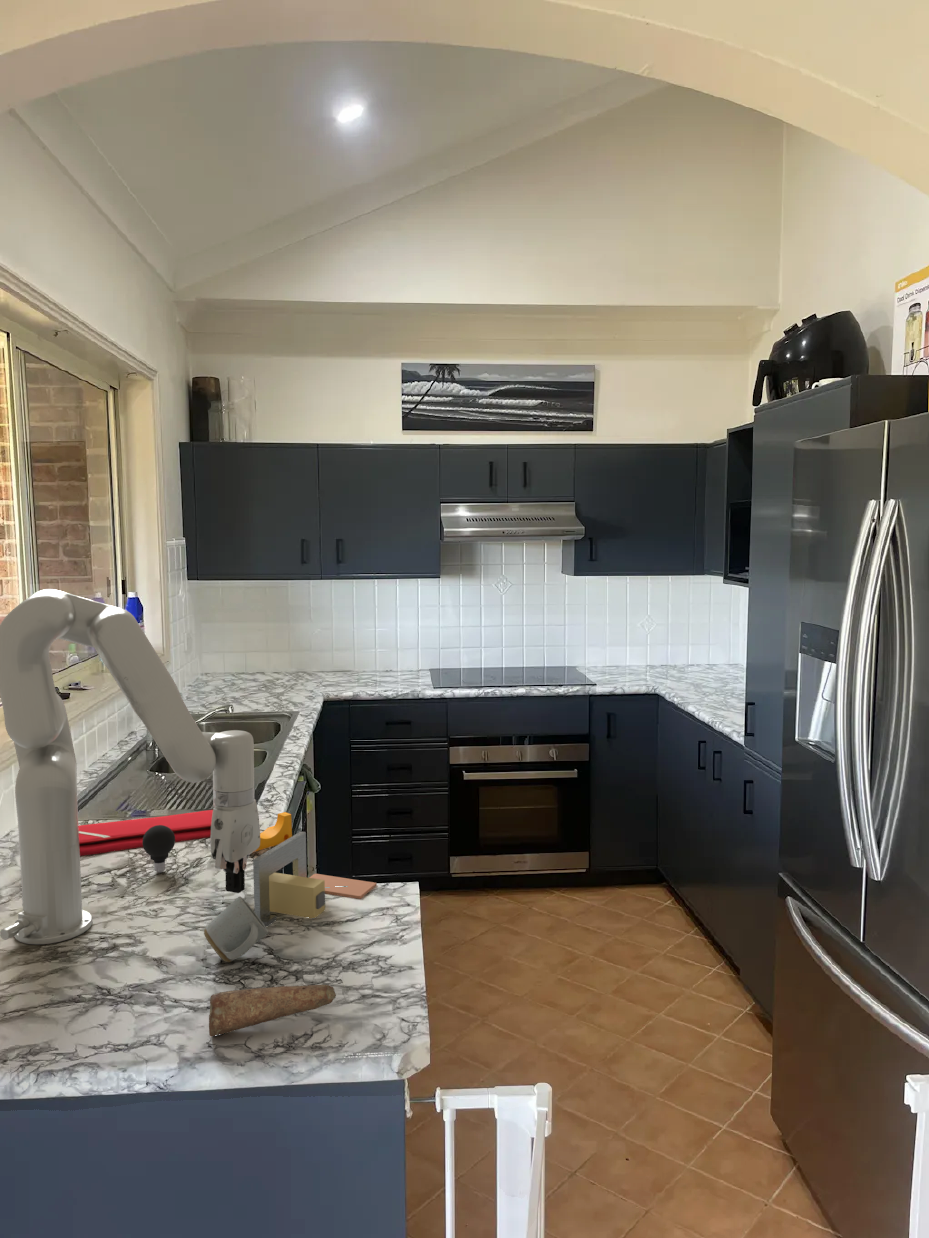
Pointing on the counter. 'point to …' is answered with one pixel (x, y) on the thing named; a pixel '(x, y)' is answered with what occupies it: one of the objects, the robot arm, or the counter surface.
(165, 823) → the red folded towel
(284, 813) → the pipe clamp
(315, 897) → the tan rectangular block
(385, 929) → the counter surface
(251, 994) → the brown tapered cone
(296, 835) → the grey u-shaped piece
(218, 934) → the ceramic mug
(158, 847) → the black rubber blower bulb
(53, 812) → the robot arm
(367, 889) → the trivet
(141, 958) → the counter surface
